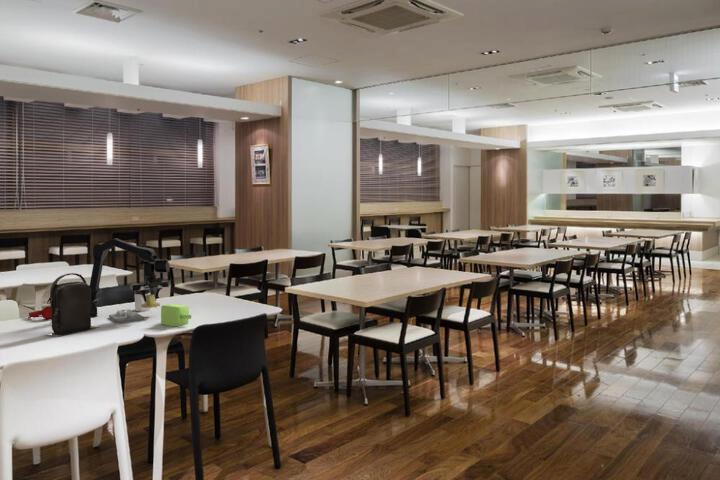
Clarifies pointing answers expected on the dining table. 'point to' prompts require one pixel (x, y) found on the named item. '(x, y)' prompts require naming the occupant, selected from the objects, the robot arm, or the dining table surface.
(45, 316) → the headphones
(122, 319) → the plate
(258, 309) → the dining table surface
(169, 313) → the gearbox
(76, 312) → the shoulder bag
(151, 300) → the brass gear
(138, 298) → the jar
